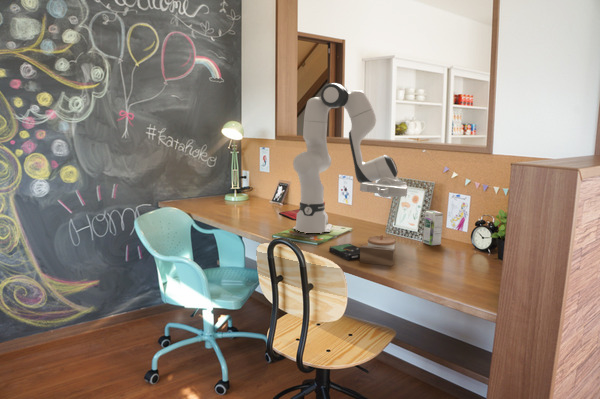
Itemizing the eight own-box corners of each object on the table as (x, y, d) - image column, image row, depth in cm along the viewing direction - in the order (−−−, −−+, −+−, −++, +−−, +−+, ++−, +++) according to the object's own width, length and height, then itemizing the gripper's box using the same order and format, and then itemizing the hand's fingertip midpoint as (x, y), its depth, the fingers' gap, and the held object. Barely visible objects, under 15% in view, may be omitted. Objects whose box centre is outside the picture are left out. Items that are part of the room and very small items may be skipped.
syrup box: (422, 242, 209) (424, 210, 207) (433, 241, 211) (435, 210, 209) (430, 245, 204) (432, 213, 201) (441, 244, 206) (443, 212, 204)
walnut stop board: (360, 260, 181) (361, 245, 180) (393, 264, 177) (393, 248, 176) (359, 262, 179) (360, 247, 178) (392, 265, 175) (393, 250, 174)
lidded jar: (400, 260, 182) (401, 236, 181) (379, 264, 177) (380, 240, 175) (381, 253, 191) (382, 231, 190) (361, 256, 186) (362, 234, 184)
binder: (301, 208, 276) (319, 215, 258) (302, 212, 276) (319, 219, 258) (277, 211, 269) (293, 218, 250) (277, 215, 269) (294, 222, 251)
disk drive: (370, 259, 185) (349, 249, 198) (370, 252, 185) (349, 242, 197) (348, 262, 180) (328, 252, 193) (349, 255, 180) (328, 245, 193)
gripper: (363, 177, 210) (357, 181, 197) (409, 182, 203) (406, 186, 191) (362, 191, 211) (355, 196, 198) (408, 196, 205) (404, 201, 192)
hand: (380, 191), depth 194 cm, fingers closed
